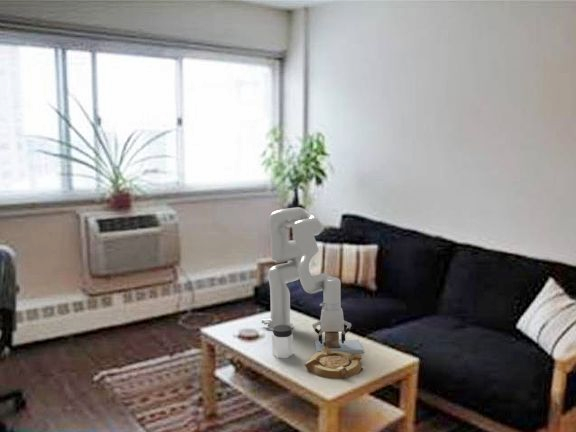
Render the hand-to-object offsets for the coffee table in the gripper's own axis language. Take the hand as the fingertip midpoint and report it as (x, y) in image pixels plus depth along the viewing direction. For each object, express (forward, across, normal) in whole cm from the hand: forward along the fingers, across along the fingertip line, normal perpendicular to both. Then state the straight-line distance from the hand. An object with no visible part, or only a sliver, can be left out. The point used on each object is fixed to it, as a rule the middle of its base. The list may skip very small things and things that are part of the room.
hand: (331, 342), depth 250 cm
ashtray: (+4, -2, -19) cm, 19 cm away
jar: (+3, -22, -5) cm, 23 cm away
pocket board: (+3, +3, 0) cm, 4 cm away
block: (+3, 0, 0) cm, 3 cm away
